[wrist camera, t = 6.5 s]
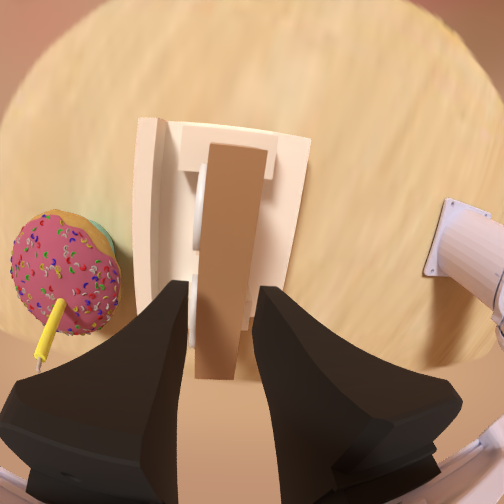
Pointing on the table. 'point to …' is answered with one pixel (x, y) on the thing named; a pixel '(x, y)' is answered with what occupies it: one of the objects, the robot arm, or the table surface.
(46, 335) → the cupcake
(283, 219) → the cream lipped block
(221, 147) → the brown wooden bar
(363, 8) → the table surface
